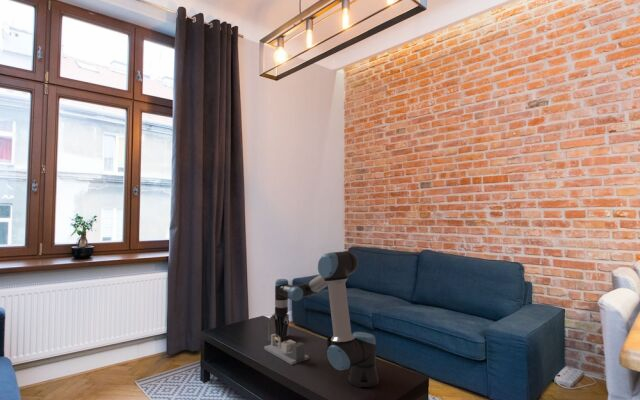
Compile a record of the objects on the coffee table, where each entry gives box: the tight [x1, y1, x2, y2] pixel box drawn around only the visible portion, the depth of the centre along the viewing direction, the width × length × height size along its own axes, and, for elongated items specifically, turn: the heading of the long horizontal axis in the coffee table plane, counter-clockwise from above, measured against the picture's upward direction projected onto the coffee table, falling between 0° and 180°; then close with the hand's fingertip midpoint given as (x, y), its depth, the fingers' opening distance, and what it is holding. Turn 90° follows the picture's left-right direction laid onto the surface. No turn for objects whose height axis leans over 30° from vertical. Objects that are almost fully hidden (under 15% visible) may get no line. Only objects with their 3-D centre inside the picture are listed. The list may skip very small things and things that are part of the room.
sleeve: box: [281, 339, 297, 353], centre depth 205 cm, size 5×7×4 cm
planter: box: [267, 312, 290, 342], centre depth 237 cm, size 16×8×19 cm, turn 134°
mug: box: [326, 336, 333, 351], centre depth 207 cm, size 9×12×9 cm
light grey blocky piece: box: [263, 334, 310, 366], centre depth 209 cm, size 28×12×9 cm, turn 41°
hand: (280, 347), depth 207 cm, fingers closed
